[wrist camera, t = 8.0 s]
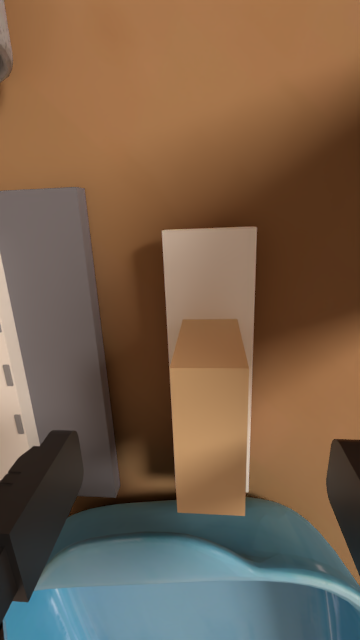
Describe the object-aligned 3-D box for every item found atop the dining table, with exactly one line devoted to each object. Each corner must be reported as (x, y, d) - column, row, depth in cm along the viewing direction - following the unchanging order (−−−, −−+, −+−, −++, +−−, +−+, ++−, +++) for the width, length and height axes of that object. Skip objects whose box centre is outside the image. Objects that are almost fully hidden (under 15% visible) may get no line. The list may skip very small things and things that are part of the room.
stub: (164, 229, 15) (136, 240, 9) (253, 226, 15) (281, 235, 9) (177, 475, 19) (163, 585, 14) (246, 478, 19) (261, 592, 13)
